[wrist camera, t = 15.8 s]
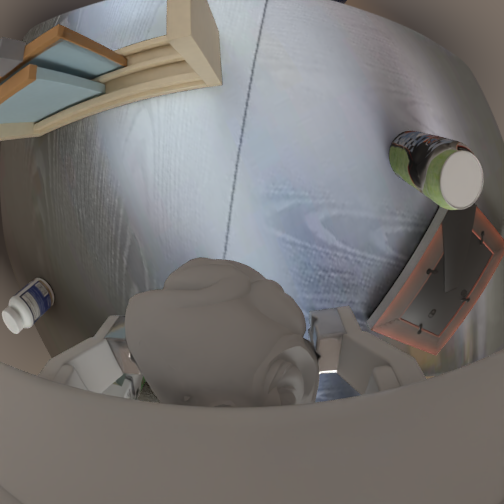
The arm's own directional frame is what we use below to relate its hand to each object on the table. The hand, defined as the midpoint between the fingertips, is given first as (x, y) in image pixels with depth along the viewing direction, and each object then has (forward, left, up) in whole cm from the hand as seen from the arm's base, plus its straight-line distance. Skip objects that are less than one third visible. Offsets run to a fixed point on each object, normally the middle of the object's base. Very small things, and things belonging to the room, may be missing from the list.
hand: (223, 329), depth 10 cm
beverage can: (-5, +18, -21) cm, 28 cm away
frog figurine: (0, 0, -3) cm, 3 cm away
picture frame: (+11, +27, -21) cm, 36 cm away
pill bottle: (+10, -35, -21) cm, 41 cm away
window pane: (-18, -17, -19) cm, 31 cm away
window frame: (-17, -15, -21) cm, 30 cm away
